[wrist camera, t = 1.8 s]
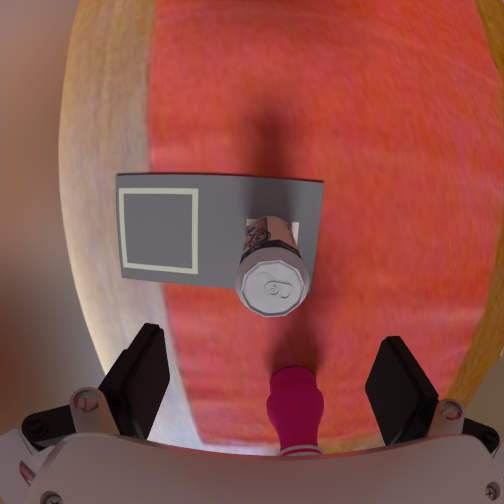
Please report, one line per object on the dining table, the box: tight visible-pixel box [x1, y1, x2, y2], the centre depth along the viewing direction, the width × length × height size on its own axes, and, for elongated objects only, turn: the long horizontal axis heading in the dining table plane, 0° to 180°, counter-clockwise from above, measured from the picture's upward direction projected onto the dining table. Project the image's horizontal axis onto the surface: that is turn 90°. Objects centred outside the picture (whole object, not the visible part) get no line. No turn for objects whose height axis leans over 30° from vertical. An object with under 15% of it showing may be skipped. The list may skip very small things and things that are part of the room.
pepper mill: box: [266, 367, 324, 456], centre depth 25 cm, size 7×7×20 cm
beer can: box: [235, 216, 310, 317], centre depth 22 cm, size 5×5×12 cm
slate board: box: [116, 174, 324, 294], centre depth 28 cm, size 12×22×1 cm, turn 87°
